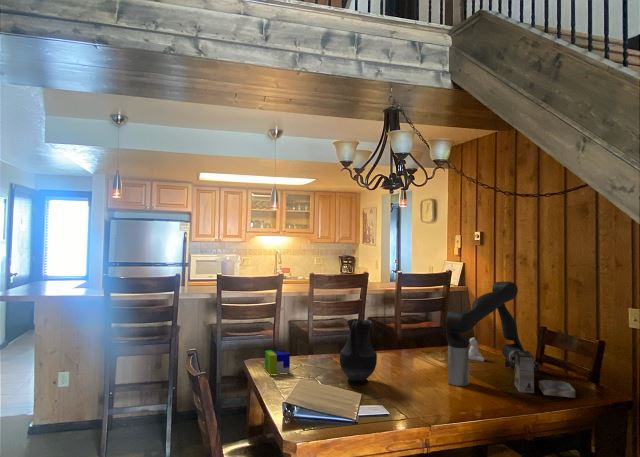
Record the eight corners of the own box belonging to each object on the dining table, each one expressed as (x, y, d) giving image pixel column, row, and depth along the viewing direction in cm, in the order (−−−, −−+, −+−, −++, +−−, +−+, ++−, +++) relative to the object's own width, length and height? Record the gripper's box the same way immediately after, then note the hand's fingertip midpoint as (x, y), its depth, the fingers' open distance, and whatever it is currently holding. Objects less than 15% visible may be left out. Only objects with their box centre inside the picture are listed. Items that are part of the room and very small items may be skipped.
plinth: (544, 395, 185) (544, 387, 185) (538, 386, 196) (538, 379, 196) (575, 398, 182) (575, 390, 182) (568, 389, 192) (568, 382, 192)
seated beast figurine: (484, 362, 235) (484, 339, 235) (468, 361, 237) (468, 339, 237) (481, 357, 245) (481, 336, 245) (465, 356, 246) (465, 335, 246)
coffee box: (514, 385, 198) (513, 350, 198) (529, 386, 196) (528, 350, 197) (519, 392, 189) (518, 355, 189) (534, 393, 187) (534, 356, 188)
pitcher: (379, 378, 207) (379, 315, 208) (372, 393, 187) (372, 323, 188) (343, 375, 212) (344, 313, 213) (333, 389, 192) (334, 321, 193)
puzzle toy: (289, 374, 213) (289, 353, 214) (270, 376, 210) (270, 355, 210) (283, 368, 223) (283, 349, 223) (264, 370, 219) (265, 350, 219)
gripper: (502, 350, 210) (506, 359, 195) (534, 352, 206) (541, 361, 191) (502, 365, 210) (506, 375, 194) (534, 368, 206) (541, 378, 191)
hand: (524, 368), depth 193 cm, fingers open, 8 cm apart
